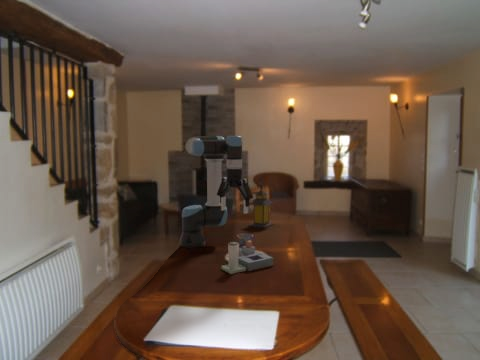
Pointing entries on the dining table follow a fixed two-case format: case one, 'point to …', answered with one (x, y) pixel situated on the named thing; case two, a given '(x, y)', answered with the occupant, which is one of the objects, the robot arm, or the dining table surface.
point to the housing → (253, 259)
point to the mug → (244, 239)
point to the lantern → (261, 210)
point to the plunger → (248, 244)
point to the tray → (225, 268)
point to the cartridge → (233, 256)
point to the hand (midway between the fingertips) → (234, 211)
